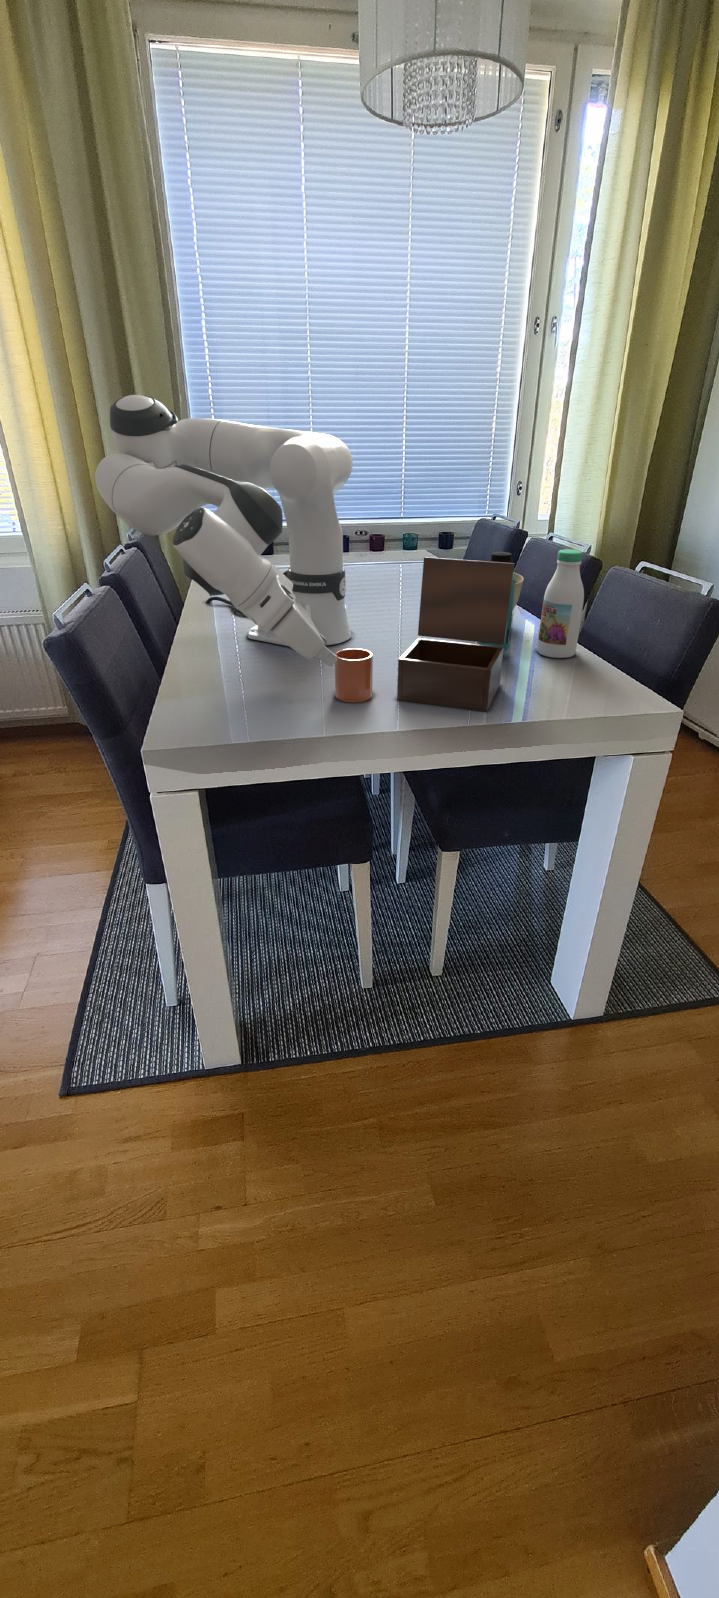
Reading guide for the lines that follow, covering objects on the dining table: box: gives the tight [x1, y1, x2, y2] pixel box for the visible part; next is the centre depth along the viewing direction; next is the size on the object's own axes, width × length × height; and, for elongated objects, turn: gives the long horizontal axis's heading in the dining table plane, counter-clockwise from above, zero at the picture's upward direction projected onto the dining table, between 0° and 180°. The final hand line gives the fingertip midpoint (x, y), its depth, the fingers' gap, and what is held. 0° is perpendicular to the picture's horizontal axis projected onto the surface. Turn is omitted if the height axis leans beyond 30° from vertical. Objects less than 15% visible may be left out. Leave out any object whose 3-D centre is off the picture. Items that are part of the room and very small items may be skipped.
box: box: [396, 637, 504, 712], centre depth 121 cm, size 13×16×7 cm
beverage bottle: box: [477, 551, 516, 653], centre depth 135 cm, size 6×7×20 cm
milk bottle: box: [536, 548, 585, 659], centre depth 137 cm, size 8×8×20 cm
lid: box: [417, 556, 515, 644], centre depth 123 cm, size 14×16×5 cm
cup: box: [334, 647, 374, 704], centre depth 120 cm, size 6×6×8 cm
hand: (329, 652), depth 117 cm, fingers open, 8 cm apart
